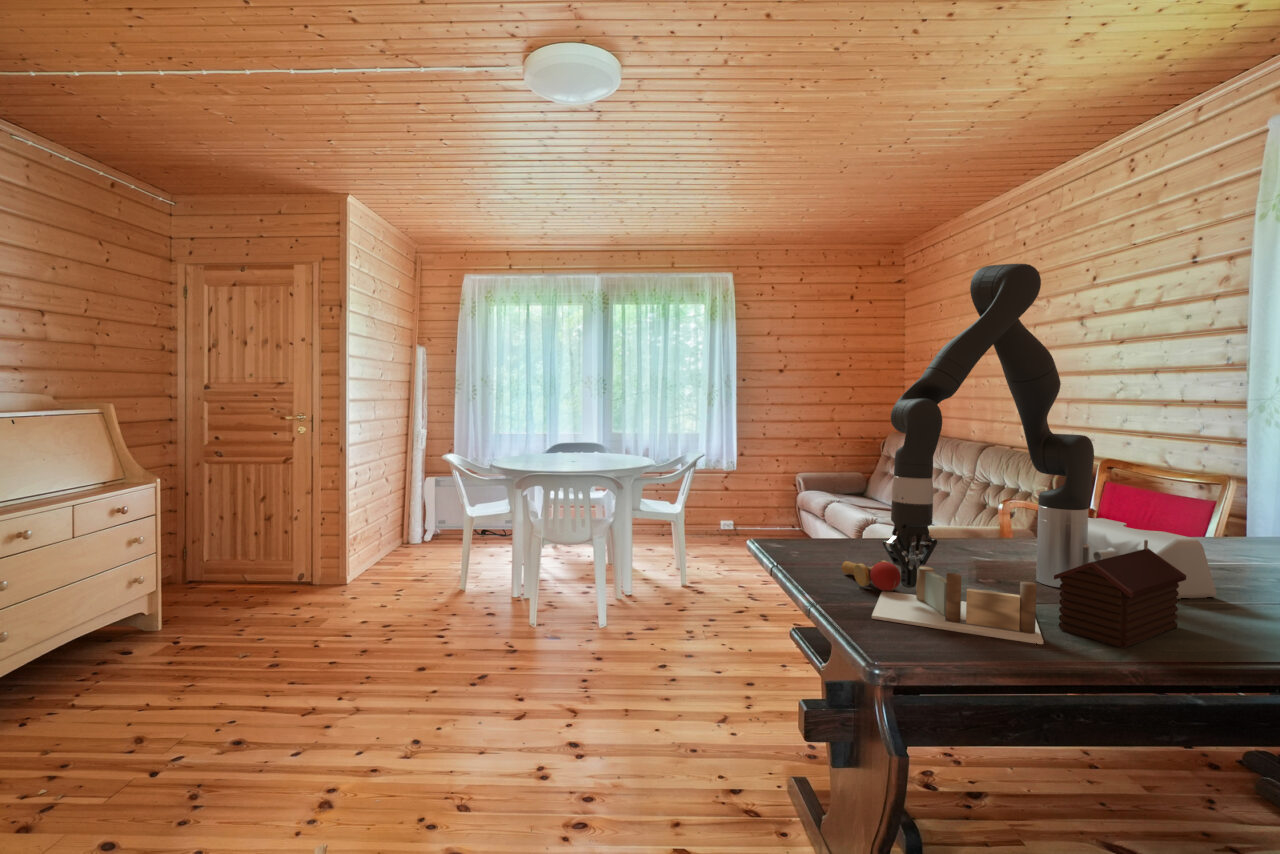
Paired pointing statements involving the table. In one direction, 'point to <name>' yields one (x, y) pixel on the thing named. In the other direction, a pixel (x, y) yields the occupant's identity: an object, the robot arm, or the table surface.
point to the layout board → (939, 618)
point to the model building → (1120, 598)
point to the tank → (1173, 548)
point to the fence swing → (931, 588)
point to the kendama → (874, 574)
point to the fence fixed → (993, 606)
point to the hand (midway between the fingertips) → (908, 586)
